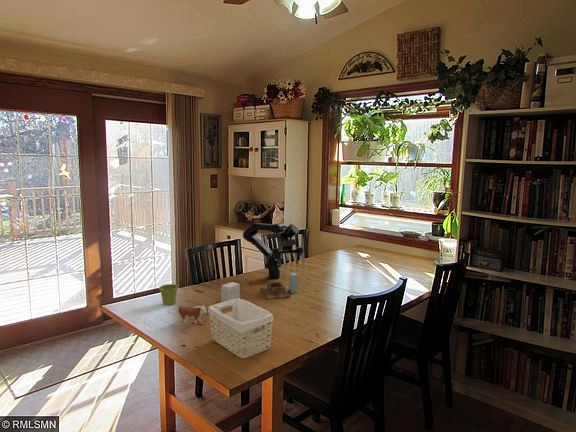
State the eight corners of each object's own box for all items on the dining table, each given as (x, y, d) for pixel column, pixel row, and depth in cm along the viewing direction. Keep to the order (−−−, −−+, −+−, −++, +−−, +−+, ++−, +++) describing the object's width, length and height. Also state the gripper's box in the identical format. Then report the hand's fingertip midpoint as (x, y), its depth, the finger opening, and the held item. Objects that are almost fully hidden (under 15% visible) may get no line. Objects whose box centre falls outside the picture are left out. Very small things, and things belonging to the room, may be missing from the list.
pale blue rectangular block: (291, 292, 222) (291, 275, 221) (289, 290, 227) (289, 272, 225) (296, 292, 223) (297, 275, 221) (294, 289, 228) (294, 272, 226)
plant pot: (171, 307, 198) (170, 290, 197) (155, 305, 201) (155, 288, 200) (182, 301, 207) (182, 285, 205) (167, 299, 210) (166, 283, 209)
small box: (232, 301, 208) (231, 281, 207) (240, 303, 205) (240, 283, 204) (221, 305, 202) (220, 285, 200) (229, 308, 199) (229, 287, 197)
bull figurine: (205, 325, 178) (205, 307, 177) (177, 323, 180) (176, 305, 179) (209, 321, 182) (209, 304, 181) (181, 319, 184) (181, 302, 183)
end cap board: (268, 299, 212) (268, 290, 211) (261, 288, 229) (261, 280, 228) (290, 297, 215) (290, 289, 214) (282, 287, 232) (282, 279, 231)
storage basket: (275, 349, 156) (275, 313, 154) (240, 363, 146) (240, 324, 144) (239, 329, 174) (239, 296, 172) (206, 340, 163) (206, 305, 161)
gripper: (271, 234, 232) (276, 258, 223) (303, 233, 236) (308, 256, 227) (269, 245, 240) (272, 268, 231) (299, 244, 245) (304, 266, 236)
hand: (289, 264), depth 231 cm, fingers open, 9 cm apart
